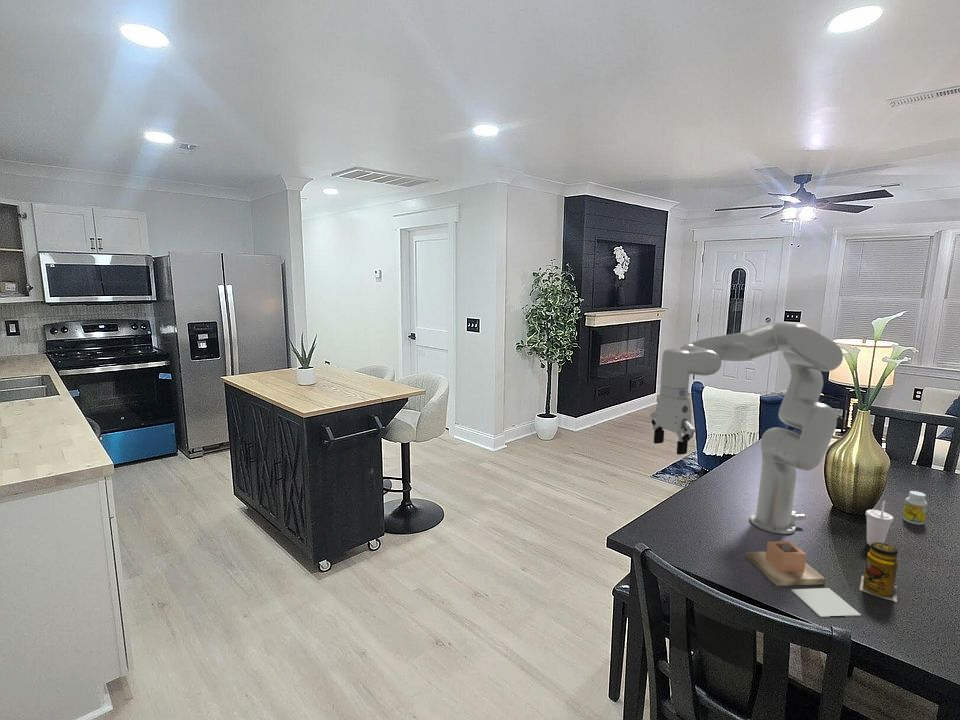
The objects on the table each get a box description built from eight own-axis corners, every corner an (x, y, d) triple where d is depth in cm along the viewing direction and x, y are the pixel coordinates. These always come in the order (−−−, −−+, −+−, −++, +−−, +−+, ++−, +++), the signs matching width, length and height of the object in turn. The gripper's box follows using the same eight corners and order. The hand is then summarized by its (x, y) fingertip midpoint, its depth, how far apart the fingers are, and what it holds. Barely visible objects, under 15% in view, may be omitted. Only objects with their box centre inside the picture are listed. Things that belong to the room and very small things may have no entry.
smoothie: (881, 552, 143) (889, 507, 141) (856, 541, 149) (863, 498, 146) (892, 547, 146) (900, 502, 144) (868, 536, 152) (874, 494, 149)
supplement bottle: (927, 523, 160) (932, 495, 159) (917, 526, 159) (922, 498, 157) (909, 515, 165) (913, 488, 164) (898, 518, 164) (902, 491, 162)
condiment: (859, 590, 126) (866, 547, 124) (861, 575, 132) (868, 534, 130) (896, 603, 121) (904, 558, 119) (897, 586, 128) (904, 543, 125)
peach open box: (787, 557, 137) (789, 541, 136) (804, 571, 131) (806, 554, 130) (765, 558, 137) (767, 541, 136) (780, 572, 131) (783, 554, 130)
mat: (828, 589, 126) (828, 588, 126) (861, 615, 116) (861, 614, 116) (791, 590, 126) (791, 589, 126) (820, 617, 116) (820, 616, 116)
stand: (790, 555, 141) (793, 532, 140) (824, 584, 128) (828, 558, 127) (746, 557, 140) (749, 533, 139) (776, 585, 127) (779, 560, 126)
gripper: (707, 397, 136) (702, 456, 139) (663, 384, 152) (660, 437, 155) (685, 400, 134) (680, 460, 137) (643, 386, 150) (640, 440, 153)
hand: (669, 448), depth 146 cm, fingers open, 9 cm apart
